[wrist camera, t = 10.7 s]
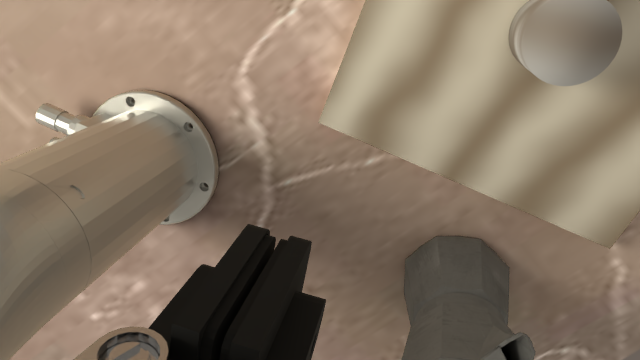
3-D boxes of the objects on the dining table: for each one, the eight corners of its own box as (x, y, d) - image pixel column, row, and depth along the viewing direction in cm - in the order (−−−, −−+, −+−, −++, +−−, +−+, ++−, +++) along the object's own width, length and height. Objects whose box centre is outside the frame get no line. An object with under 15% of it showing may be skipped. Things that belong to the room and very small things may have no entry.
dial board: (323, 116, 38) (317, 123, 36) (463, -242, 28) (465, -259, 26) (601, 236, 37) (610, 250, 35) (849, -92, 27) (882, -98, 25)
